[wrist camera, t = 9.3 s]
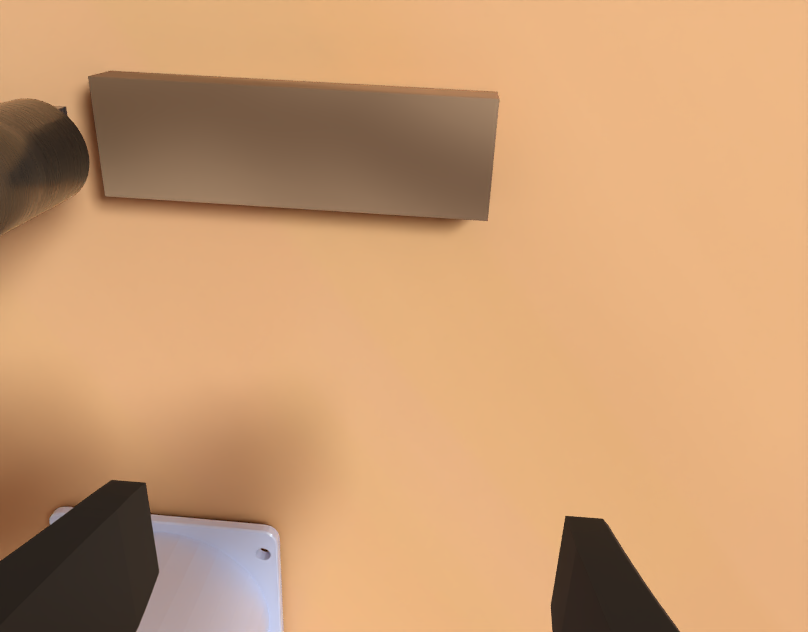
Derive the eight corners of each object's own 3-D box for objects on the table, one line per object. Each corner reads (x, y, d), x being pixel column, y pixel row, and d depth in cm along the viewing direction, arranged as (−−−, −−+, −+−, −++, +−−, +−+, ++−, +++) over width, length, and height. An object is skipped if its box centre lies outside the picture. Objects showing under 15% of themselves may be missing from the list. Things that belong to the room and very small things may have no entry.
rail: (486, 207, 19) (487, 220, 18) (125, 184, 20) (104, 196, 19) (497, 92, 18) (499, 98, 17) (110, 70, 18) (87, 76, 17)
